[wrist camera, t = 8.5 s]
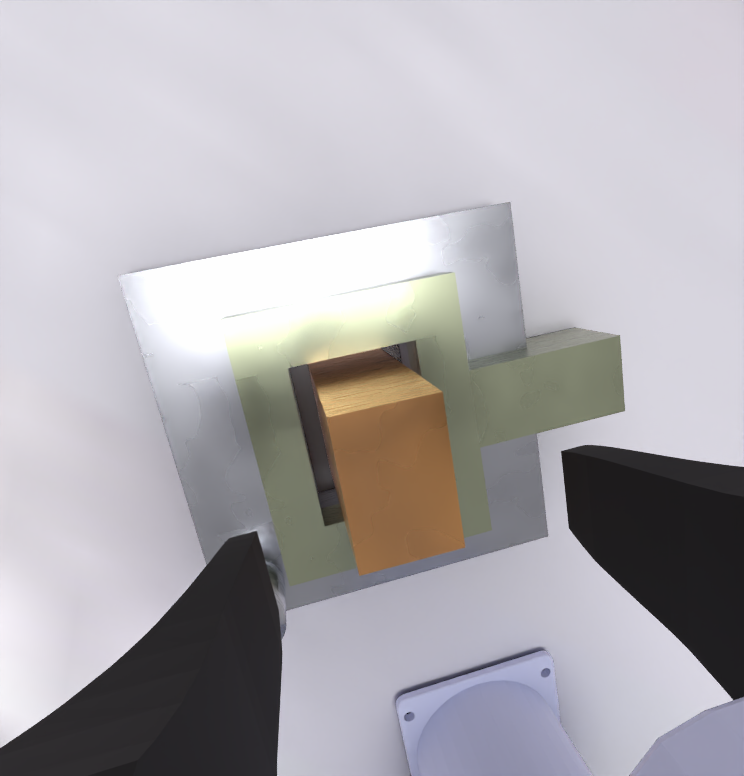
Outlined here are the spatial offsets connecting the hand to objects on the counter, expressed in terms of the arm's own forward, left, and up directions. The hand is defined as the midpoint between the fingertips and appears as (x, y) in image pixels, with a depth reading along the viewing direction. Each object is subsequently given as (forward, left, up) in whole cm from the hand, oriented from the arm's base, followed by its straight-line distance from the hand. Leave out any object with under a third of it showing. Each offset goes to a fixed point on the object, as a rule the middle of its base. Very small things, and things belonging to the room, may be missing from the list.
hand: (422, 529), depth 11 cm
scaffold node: (0, -2, -10) cm, 10 cm away
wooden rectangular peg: (0, 0, -10) cm, 10 cm away
